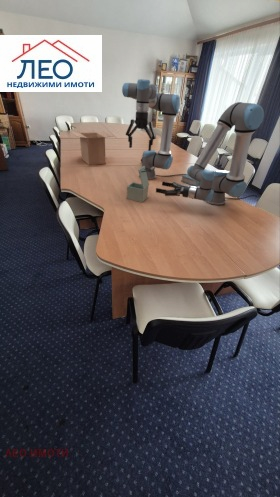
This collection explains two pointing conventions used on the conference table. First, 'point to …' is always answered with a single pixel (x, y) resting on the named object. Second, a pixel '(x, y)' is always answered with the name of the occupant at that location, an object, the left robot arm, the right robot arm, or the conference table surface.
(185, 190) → the right robot arm
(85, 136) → the box
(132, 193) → the chest
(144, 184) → the lid
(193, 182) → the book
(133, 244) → the conference table surface
